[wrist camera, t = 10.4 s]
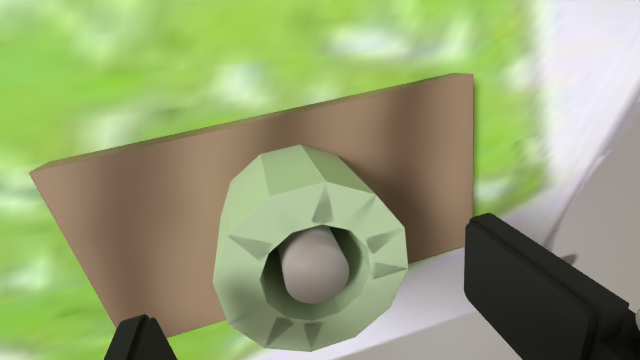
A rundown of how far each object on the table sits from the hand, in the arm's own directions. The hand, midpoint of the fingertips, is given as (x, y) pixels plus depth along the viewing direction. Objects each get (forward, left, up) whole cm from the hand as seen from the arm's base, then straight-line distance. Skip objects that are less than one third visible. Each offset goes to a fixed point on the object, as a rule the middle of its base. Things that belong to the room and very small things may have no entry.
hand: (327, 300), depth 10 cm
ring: (0, +1, -7) cm, 7 cm away
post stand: (0, +1, -9) cm, 9 cm away
